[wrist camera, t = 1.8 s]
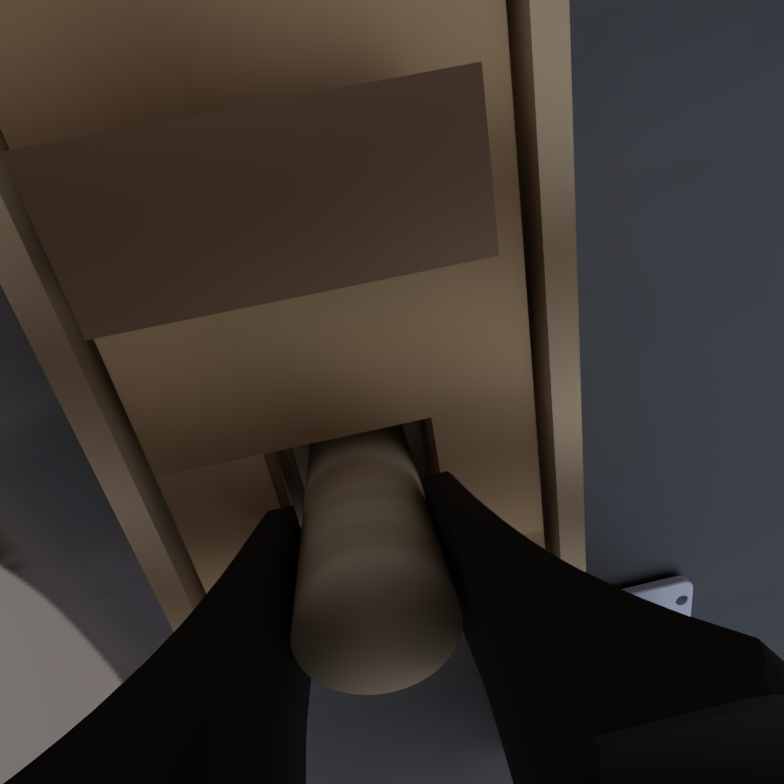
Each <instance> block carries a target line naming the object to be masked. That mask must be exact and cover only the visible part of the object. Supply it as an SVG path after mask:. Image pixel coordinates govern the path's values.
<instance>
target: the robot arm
mask: <svg viewBox="0 0 784 784" xmlns="http://www.w3.org/2000/svg"><path fill="white" fill-rule="evenodd" d="M422 481H423V486H424V491H425V497H426V502H427V505H428V509H429V512H430V515H431V518H432V521H433V524H434V528H435V531H436V533H437V536H438V539H439V542H440V545H441V548H442V551H443V554H444V557H445V561H446V564H447V567H448V570H449V573H450V576H451V579H452V583H453V586H454V589H455V592H456V595H457V598H458V602H459V605H460V608H461V612H462V618H463V627H462V630H463V632H464V635H465V637H466V640H467V642H468V645H469V647H470V650H471V652H472V655H473V658H474V660H475V663H476V665H477V668H478V670H479V673H480V675H481V678H482V681H483V684H484V687H485V690H486V692H487V695H488V698H489V701H490V705H491V708H492V711H493V715H494V718H495V722H496V725H497V728H498V732H499V735H500V738H501V742H502V745H503V749H504V752H505V755H506V759H507V762H508V766H509V769H510V773H511V776H512V780H513V783H514V784H784V661H783V660H782V659H781V658H779V657H778V656H777V655H776V654H775V653H774V652H773V651H771V650H770V649H769V648H768V647H767V646H766V645H765V644H764V643H763V642H761V641H760V640H759V639H758V638H755V637H752V636H749V635H746V634H743V633H740V632H736V631H733V630H730V629H727V628H724V627H721V626H718V625H715V624H712V623H709V622H706V621H703V620H699V619H696V618H693V617H691V607H692V595H693V584H692V583H691V582H690V581H689V580H688V579H687V578H686V577H684V576H674V577H670V578H666V579H662V580H658V581H653V582H649V583H645V584H641V585H637V586H632V587H628V588H624V589H619V588H617V587H615V586H613V585H611V584H609V583H607V582H605V581H603V580H601V579H598V578H596V577H594V576H592V575H590V574H588V573H586V572H584V571H582V570H580V569H578V568H576V567H574V566H573V565H571V564H569V563H567V562H565V561H564V560H562V559H560V558H558V557H557V556H555V555H553V554H552V553H550V552H548V551H547V550H545V549H544V548H542V547H541V546H539V545H538V544H536V543H535V542H533V541H532V540H530V539H529V538H527V537H526V536H524V535H523V534H522V533H520V532H519V531H517V530H516V529H514V528H513V527H512V526H510V525H509V524H508V523H507V522H505V521H504V520H503V519H501V518H500V517H499V516H498V515H496V514H495V513H494V512H493V511H492V510H490V509H489V508H488V507H487V506H485V505H484V504H483V503H482V502H481V501H480V500H478V499H477V498H476V497H475V496H474V495H473V494H472V493H471V492H470V491H469V490H467V489H466V488H465V487H464V486H463V485H462V484H461V483H460V482H459V481H458V480H457V479H456V478H455V477H454V475H453V474H451V473H450V472H448V471H445V472H441V473H436V474H432V475H428V476H423V477H422ZM300 537H301V527H300V524H299V521H298V518H297V515H296V511H295V508H294V505H293V506H288V507H284V508H279V509H275V510H270V511H267V513H266V514H265V515H264V517H263V518H262V519H261V521H260V522H259V524H258V525H257V526H256V528H255V529H254V531H253V532H252V534H251V535H250V536H249V538H248V539H247V541H246V542H245V543H244V545H243V546H242V548H241V549H240V551H239V552H238V553H237V555H236V556H235V558H234V559H233V560H232V562H231V563H230V564H229V566H228V567H227V568H226V570H225V571H224V572H223V574H222V575H221V576H220V578H219V579H218V580H217V581H216V583H215V584H214V585H213V586H212V588H211V589H210V590H209V591H208V593H207V594H206V595H205V596H204V598H203V599H202V600H201V601H200V603H199V604H198V605H197V606H196V607H195V609H194V610H193V611H192V612H191V614H190V615H189V616H188V617H187V618H186V619H185V620H184V622H183V623H182V624H181V625H180V626H179V627H178V628H177V629H176V630H175V632H174V633H173V634H172V635H171V636H170V637H169V638H168V639H167V640H166V641H165V642H164V643H163V644H162V645H161V646H160V647H159V648H158V650H157V651H156V652H155V653H154V654H153V655H152V656H151V657H150V658H149V659H148V660H147V661H146V662H145V663H144V664H143V665H142V666H141V667H140V668H139V669H137V670H136V671H135V672H134V673H133V674H132V675H131V676H130V677H129V678H128V679H127V680H126V681H125V682H124V683H123V684H121V685H120V686H119V687H118V688H117V689H116V690H115V691H114V692H113V693H112V694H111V695H110V696H109V697H108V698H107V699H105V700H104V701H103V702H102V703H101V704H100V705H99V706H98V707H97V708H96V709H95V710H93V711H92V712H91V713H90V714H89V715H88V716H87V717H85V718H84V719H83V720H82V721H81V722H79V723H78V724H77V725H76V726H75V727H74V728H72V729H71V730H70V731H69V732H68V733H67V734H65V735H64V736H63V737H62V738H61V739H59V740H58V741H57V742H56V743H55V744H53V745H52V746H51V747H49V748H48V749H47V750H46V751H45V752H43V753H42V754H41V755H40V756H38V757H37V758H36V759H35V760H34V761H32V762H31V763H30V764H28V765H27V766H26V767H25V768H23V769H22V770H21V771H20V772H18V773H17V774H16V775H14V776H13V777H12V778H11V779H9V780H8V781H7V782H5V783H4V784H306V731H307V715H308V704H309V694H310V683H311V677H310V676H308V675H307V674H306V673H305V672H304V671H303V670H302V668H301V667H300V666H299V664H298V663H297V661H296V659H295V657H294V655H293V651H292V648H291V639H290V636H291V626H292V616H293V606H294V596H295V587H296V577H297V567H298V557H299V547H300Z"/></svg>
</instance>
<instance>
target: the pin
mask: <svg viewBox="0 0 784 784" xmlns="http://www.w3.org/2000/svg"><path fill="white" fill-rule="evenodd" d="M462 627H463V618H462V612H461V608H460V605H459V602H458V598H457V595H456V592H455V589H454V586H453V583H452V579H451V576H450V573H449V570H448V567H447V564H446V561H445V557H444V554H443V551H442V548H441V545H440V542H439V539H438V536H437V533H436V531H435V528H434V524H433V521H432V518H431V515H430V512H429V509H428V505H427V502H426V498H425V495H424V491H423V488H422V485H421V482H420V479H419V476H418V473H417V469H416V466H415V463H414V460H413V457H412V454H411V451H410V447H409V444H408V441H407V438H406V435H405V432H404V429H403V427H402V424H399V425H394V426H390V427H385V428H381V429H376V430H371V431H367V432H362V433H358V434H353V435H348V436H344V437H339V438H335V439H330V440H326V441H321V442H316V443H312V444H310V449H309V459H308V469H307V478H306V488H305V498H304V508H303V518H302V528H301V537H300V547H299V557H298V567H297V577H296V587H295V596H294V606H293V616H292V626H291V636H290V639H291V648H292V651H293V655H294V657H295V659H296V661H297V663H298V664H299V666H300V667H301V668H302V670H303V671H304V672H305V673H306V674H307V675H308V676H310V677H311V678H312V679H313V680H315V681H316V682H318V683H320V684H321V685H323V686H325V687H328V688H330V689H333V690H336V691H339V692H343V693H349V694H357V695H376V694H385V693H390V692H395V691H398V690H402V689H405V688H407V687H410V686H412V685H415V684H417V683H419V682H421V681H423V680H424V679H426V678H428V677H429V676H431V675H432V674H433V673H435V672H436V671H437V670H438V669H440V668H441V667H442V666H443V665H444V664H445V663H446V662H447V660H448V659H449V658H450V657H451V655H452V654H453V652H454V651H455V649H456V647H457V645H458V643H459V640H460V637H461V633H462Z"/></svg>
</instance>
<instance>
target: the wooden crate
mask: <svg viewBox="0 0 784 784" xmlns="http://www.w3.org/2000/svg"><path fill="white" fill-rule="evenodd" d="M506 11H507V25H508V39H509V53H510V67H511V81H512V95H513V109H514V123H515V137H516V151H517V165H518V179H519V193H520V207H521V221H522V235H523V249H524V262H525V276H526V290H527V304H528V318H529V332H530V346H531V360H532V374H533V388H534V402H535V416H536V430H537V444H538V458H539V472H540V486H541V500H542V514H543V527H544V541H545V550H547V551H548V552H550V553H552V554H553V555H555V556H557V557H558V558H560V559H562V560H564V561H565V562H567V563H569V564H571V565H573V566H574V567H576V568H578V569H580V570H582V571H584V572H586V549H585V515H584V482H583V448H582V414H581V381H580V347H579V314H578V280H577V247H576V213H575V179H574V146H573V112H572V79H571V45H570V12H569V0H506ZM7 150H10V149H9V147H8V145H7V142H6V140H5V138H4V136H3V133H2V131H1V129H0V152H1V151H7ZM0 285H1V287H2V289H3V291H4V293H5V295H6V297H7V299H8V301H9V303H10V305H11V307H12V309H13V311H14V313H15V315H16V317H17V319H18V321H19V323H20V325H21V327H22V329H23V331H24V333H25V335H26V337H27V339H28V341H29V343H30V345H31V347H32V349H33V351H34V353H35V355H36V357H37V359H38V361H39V363H40V365H41V367H42V369H43V371H44V373H45V375H46V377H47V379H48V381H49V383H50V385H51V387H52V389H53V391H54V393H55V395H56V397H57V399H58V401H59V403H60V405H61V407H62V409H63V411H64V413H65V415H66V417H67V419H68V421H69V423H70V425H71V427H72V429H73V431H74V433H75V435H76V437H77V439H78V441H79V443H80V445H81V447H82V449H83V451H84V453H85V455H86V457H87V459H88V461H89V463H90V465H91V467H92V469H93V471H94V473H95V475H96V477H97V479H98V481H99V483H100V485H101V487H102V489H103V491H104V493H105V495H106V497H107V499H108V501H109V503H110V505H111V507H112V509H113V511H114V513H115V515H116V517H117V519H118V521H119V523H120V525H121V527H122V529H123V531H124V533H125V535H126V537H127V539H128V541H129V543H130V545H131V547H132V549H133V551H134V553H135V555H136V557H137V559H138V561H139V563H140V565H141V567H142V569H143V571H144V573H145V575H146V577H147V579H148V581H149V583H150V585H151V587H152V589H153V591H154V593H155V595H156V597H157V599H158V601H159V603H160V605H161V607H162V609H163V611H164V613H165V615H166V617H167V619H168V621H169V623H170V625H171V627H172V629H173V631H174V632H175V630H176V629H177V628H178V627H179V626H180V625H181V624H182V623H183V622H184V620H185V619H186V618H187V617H188V616H189V615H190V614H191V612H192V611H193V610H194V609H195V607H196V606H197V605H198V604H199V603H200V601H201V600H202V599H203V598H204V596H205V595H206V592H205V589H204V587H203V585H202V583H201V580H200V578H199V576H198V574H197V571H196V569H195V567H194V565H193V562H192V560H191V558H190V556H189V553H188V551H187V549H186V547H185V544H184V542H183V540H182V538H181V535H180V533H179V531H178V529H177V526H176V524H175V522H174V519H173V517H172V515H171V513H170V510H169V508H168V506H167V504H166V501H165V499H164V497H163V495H162V492H161V490H160V488H159V486H158V483H157V481H156V479H155V477H154V474H153V472H152V470H151V468H150V465H149V463H148V461H147V459H146V456H145V454H144V452H143V449H142V447H141V445H140V443H139V440H138V438H137V436H136V434H135V431H134V429H133V427H132V425H131V422H130V420H129V418H128V416H127V413H126V411H125V409H124V407H123V404H122V402H121V400H120V398H119V395H118V393H117V391H116V389H115V386H114V384H113V382H112V380H111V377H110V375H109V373H108V370H107V368H106V366H105V364H104V361H103V359H102V357H101V355H100V352H99V350H98V348H97V346H96V343H95V341H94V339H91V340H86V341H85V340H84V337H83V335H82V333H81V331H80V328H79V326H78V324H77V322H76V320H75V317H74V315H73V313H72V311H71V309H70V306H69V304H68V302H67V300H66V297H65V295H64V293H63V291H62V289H61V286H60V284H59V282H58V280H57V277H56V275H55V273H54V271H53V269H52V266H51V264H50V262H49V260H48V258H47V255H46V253H45V251H44V249H43V246H42V244H41V242H40V240H39V238H38V235H37V233H36V231H35V229H34V226H33V224H32V222H31V220H30V218H29V215H28V213H27V211H26V209H25V207H24V204H23V202H22V200H21V198H20V195H19V193H18V191H17V189H16V187H15V184H14V182H13V180H12V178H11V175H10V173H9V171H8V169H7V167H6V164H5V162H4V160H3V158H2V155H1V153H0ZM402 427H403V429H404V432H405V435H406V438H407V441H408V444H409V447H410V451H411V454H412V457H413V460H414V463H415V466H416V469H417V473H418V476H419V479H420V482H421V485H422V488H423V491H424V486H423V481H422V477H423V476H428V475H432V474H436V471H435V465H434V459H433V453H432V447H431V441H430V436H429V430H428V424H427V418H426V419H422V420H417V421H413V422H408V423H404V424H402ZM309 449H310V444H307V445H303V446H298V447H293V448H289V449H284V450H280V451H275V452H274V454H275V457H276V460H277V463H278V466H279V470H280V473H281V476H282V479H283V482H284V485H285V488H286V491H287V494H288V498H289V501H290V504H291V506H293V505H294V508H295V511H296V515H297V518H298V521H299V524H300V527H301V528H302V518H303V508H304V498H305V488H306V478H307V469H308V459H309ZM424 495H425V491H424ZM425 498H426V497H425Z"/></svg>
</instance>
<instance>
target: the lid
mask: <svg viewBox="0 0 784 784" xmlns="http://www.w3.org/2000/svg"><path fill="white" fill-rule="evenodd" d="M0 129H1V131H2V133H3V136H4V138H5V140H6V142H7V145H8V147H9V149H10V150H7V151H1V152H0V153H1V155H2V158H3V160H4V162H5V164H6V167H7V169H8V171H9V173H10V175H11V178H12V180H13V182H14V184H15V187H16V189H17V191H18V193H19V195H20V198H21V200H22V202H23V204H24V207H25V209H26V211H27V213H28V215H29V218H30V220H31V222H32V224H33V226H34V229H35V231H36V233H37V235H38V238H39V240H40V242H41V244H42V246H43V249H44V251H45V253H46V255H47V258H48V260H49V262H50V264H51V266H52V269H53V271H54V273H55V275H56V277H57V280H58V282H59V284H60V286H61V289H62V291H63V293H64V295H65V297H66V300H67V302H68V304H69V306H70V309H71V311H72V313H73V315H74V317H75V320H76V322H77V324H78V326H79V328H80V331H81V333H82V335H83V337H84V340H85V341H86V340H91V339H94V341H95V343H96V346H97V348H98V350H99V352H100V355H101V357H102V359H103V361H104V364H105V366H106V368H107V370H108V373H109V375H110V377H111V380H112V382H113V384H114V386H115V389H116V391H117V393H118V395H119V398H120V400H121V402H122V404H123V407H124V409H125V411H126V413H127V416H128V418H129V420H130V422H131V425H132V427H133V429H134V431H135V434H136V436H137V438H138V440H139V443H140V445H141V447H142V449H143V452H144V454H145V456H146V459H147V461H148V463H149V465H150V468H151V470H152V472H153V474H154V477H155V479H156V481H157V483H158V486H159V488H160V490H161V492H162V495H163V497H164V499H165V501H166V504H167V506H168V508H169V510H170V513H171V515H172V517H173V519H174V522H175V524H176V526H177V529H178V531H179V533H180V535H181V538H182V540H183V542H184V544H185V547H186V549H187V551H188V553H189V556H190V558H191V560H192V562H193V565H194V567H195V569H196V571H197V574H198V576H199V578H200V580H201V583H202V585H203V587H204V589H205V592H206V594H207V593H208V591H209V590H210V589H211V588H212V586H213V585H214V584H215V583H216V581H217V580H218V579H219V578H220V576H221V575H222V574H223V572H224V571H225V570H226V568H227V567H228V566H229V564H230V563H231V562H232V560H233V559H234V558H235V556H236V555H237V553H238V552H239V551H240V549H241V548H242V546H243V545H244V543H245V542H246V541H247V539H248V538H249V536H250V535H251V534H252V532H253V531H254V529H255V528H256V526H257V525H258V524H259V522H260V521H261V519H262V518H263V517H264V515H265V514H266V513H267V511H270V510H275V509H279V508H284V507H288V506H291V504H290V501H289V498H288V494H287V491H286V488H285V485H284V482H283V479H282V476H281V473H280V470H279V466H278V463H277V460H276V457H275V454H274V452H275V451H280V450H284V449H289V448H293V447H298V446H303V445H307V444H312V443H316V442H321V441H326V440H330V439H335V438H339V437H344V436H348V435H353V434H358V433H362V432H367V431H371V430H376V429H381V428H385V427H390V426H394V425H399V424H404V423H408V422H413V421H417V420H422V419H426V418H427V424H428V430H429V436H430V441H431V447H432V453H433V459H434V465H435V471H436V473H441V472H445V471H448V472H450V473H451V474H453V475H454V477H455V478H456V479H457V480H458V481H459V482H460V483H461V484H462V485H463V486H464V487H465V488H466V489H467V490H469V491H470V492H471V493H472V494H473V495H474V496H475V497H476V498H477V499H478V500H480V501H481V502H482V503H483V504H484V505H485V506H487V507H488V508H489V509H490V510H492V511H493V512H494V513H495V514H496V515H498V516H499V517H500V518H501V519H503V520H504V521H505V522H507V523H508V524H509V525H510V526H512V527H513V528H514V529H516V530H517V531H519V532H520V533H522V534H523V535H524V536H526V537H527V538H529V539H530V540H532V541H533V542H535V543H536V544H538V545H539V546H541V547H542V548H544V549H545V541H544V527H543V514H542V500H541V486H540V472H539V458H538V444H537V430H536V416H535V402H534V388H533V374H532V360H531V346H530V332H529V318H528V304H527V290H526V276H525V262H524V249H523V235H522V221H521V207H520V193H519V179H518V165H517V151H516V137H515V123H514V109H513V95H512V81H511V67H510V53H509V39H508V25H507V11H506V0H0Z"/></svg>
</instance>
